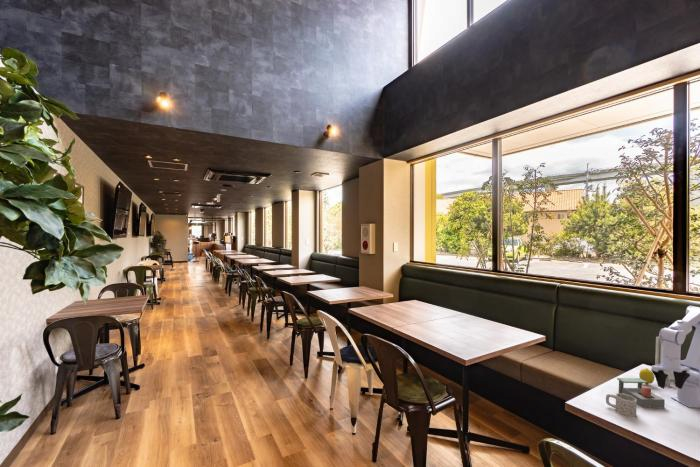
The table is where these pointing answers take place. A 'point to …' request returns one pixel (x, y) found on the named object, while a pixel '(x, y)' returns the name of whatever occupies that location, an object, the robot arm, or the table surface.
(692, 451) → the table surface
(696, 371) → the robot arm
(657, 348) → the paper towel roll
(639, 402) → the socket block
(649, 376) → the lemon
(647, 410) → the table surface
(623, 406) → the mug
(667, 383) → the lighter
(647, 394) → the peg
